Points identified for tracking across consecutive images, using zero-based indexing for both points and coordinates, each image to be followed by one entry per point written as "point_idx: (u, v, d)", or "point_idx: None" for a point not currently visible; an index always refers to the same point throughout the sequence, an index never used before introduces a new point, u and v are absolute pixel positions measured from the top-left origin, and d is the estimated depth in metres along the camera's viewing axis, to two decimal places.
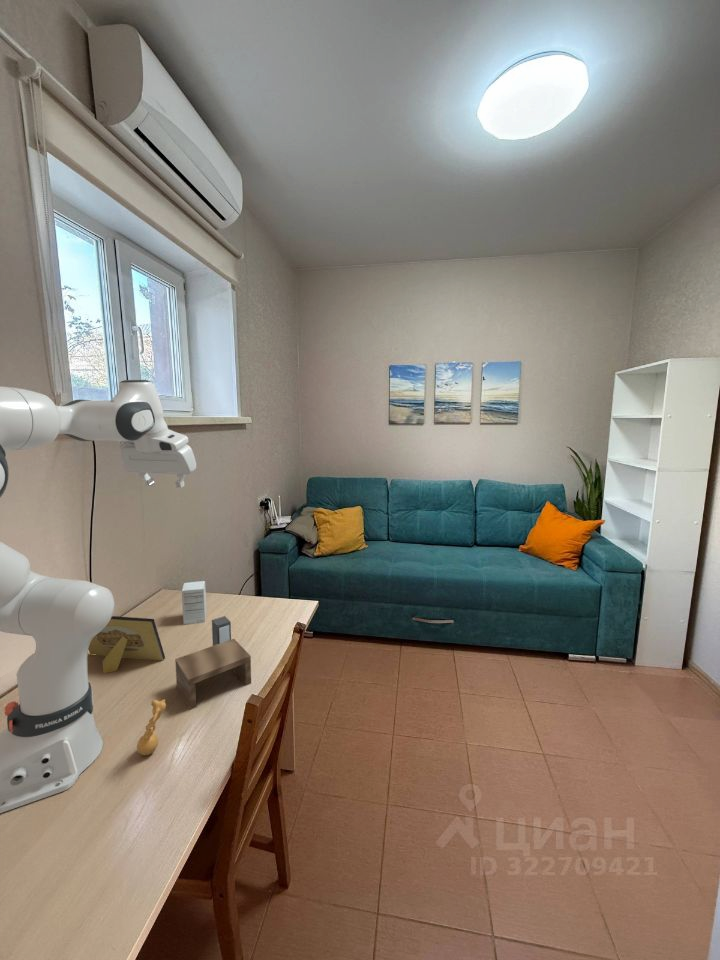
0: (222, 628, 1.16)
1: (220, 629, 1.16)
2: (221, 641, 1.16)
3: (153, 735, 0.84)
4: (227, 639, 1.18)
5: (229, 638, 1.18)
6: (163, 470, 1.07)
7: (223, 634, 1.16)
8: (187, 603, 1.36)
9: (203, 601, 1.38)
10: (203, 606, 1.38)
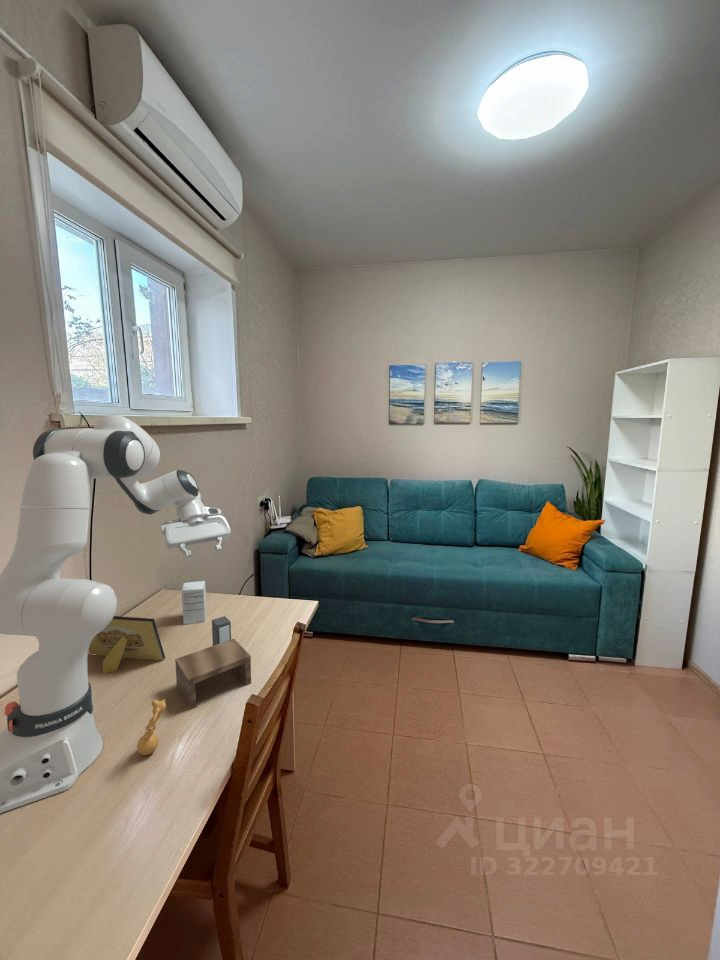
0: (222, 628, 1.16)
1: (220, 629, 1.16)
2: (221, 641, 1.16)
3: (153, 735, 0.84)
4: (227, 639, 1.18)
5: (229, 638, 1.18)
6: (207, 534, 1.28)
7: (223, 634, 1.16)
8: (187, 603, 1.36)
9: (203, 601, 1.38)
10: (203, 606, 1.38)
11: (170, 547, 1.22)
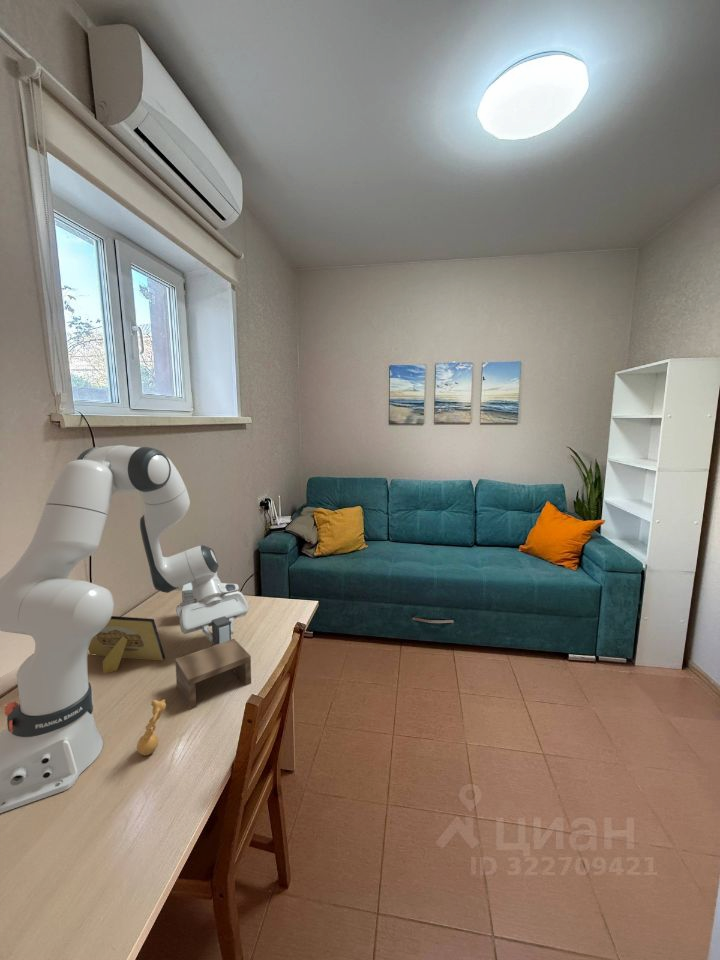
0: (222, 628, 1.16)
1: (220, 629, 1.16)
2: (221, 641, 1.16)
3: (153, 735, 0.84)
4: (227, 639, 1.18)
5: (229, 638, 1.18)
6: (224, 614, 1.21)
7: (223, 634, 1.16)
8: None
9: None
10: None
11: (186, 632, 1.15)
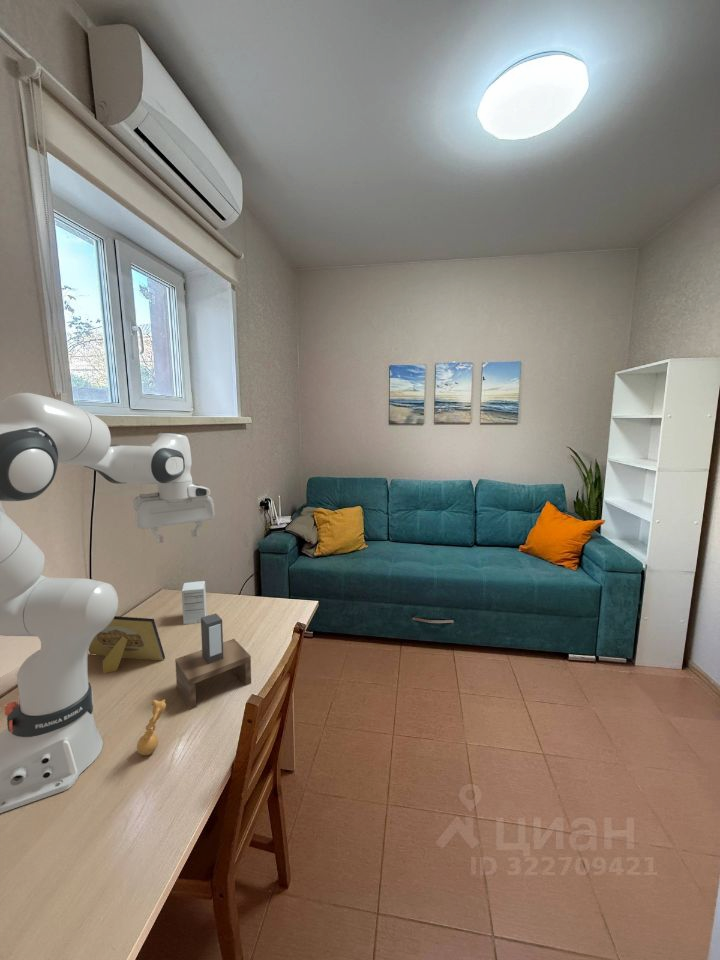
0: (212, 627, 1.01)
1: (210, 628, 1.01)
2: (211, 642, 1.01)
3: (153, 735, 0.84)
4: (218, 640, 1.02)
5: (221, 638, 1.03)
6: (186, 519, 1.10)
7: (213, 634, 1.01)
8: (187, 603, 1.36)
9: (203, 601, 1.38)
10: (203, 606, 1.38)
11: None
